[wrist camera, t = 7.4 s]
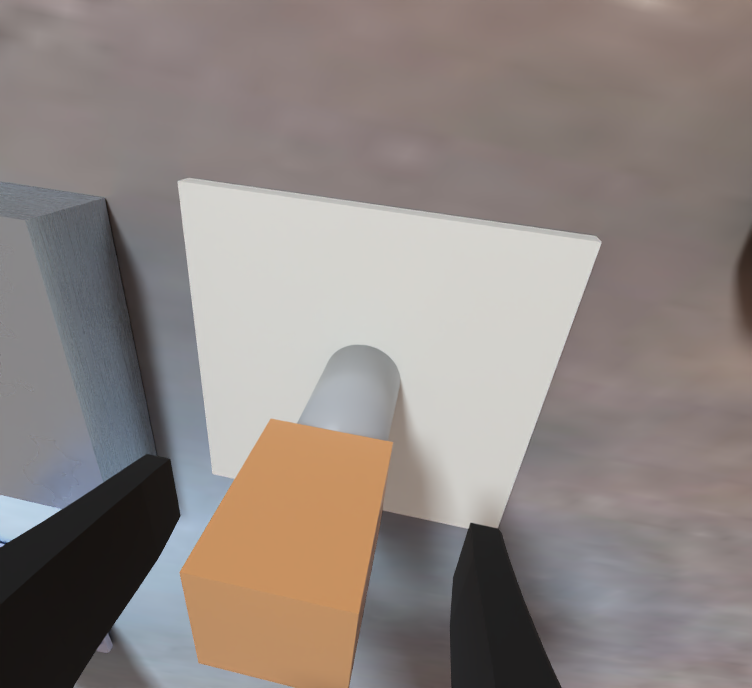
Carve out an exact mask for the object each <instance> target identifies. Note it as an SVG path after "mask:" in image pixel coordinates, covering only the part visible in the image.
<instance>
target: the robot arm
mask: <svg viewBox="0 0 752 688" xmlns="http://www.w3.org/2000/svg"><path fill="white" fill-rule="evenodd" d="M179 518H180V510H179V505H178V500H177V494H176V489H175V483H174V478H173V472H172V467H171V461H170V459H168V458H164V457H159V456H154V455H150V454H146V455H144V456H143V457H141V458H139V459H138V460H136V461H135V462H133V463H132V464H130V465H129V466H127V467H126V468H124V469H123V470H121V471H120V472H118V473H117V474H115V475H114V476H112V477H111V478H109V479H108V480H106V481H105V482H103V483H102V484H100V485H99V486H97V487H96V488H94V489H93V490H91V491H90V492H88V493H87V494H85V495H84V496H82V497H80V498H79V499H77V500H76V501H74V502H73V503H71V504H70V505H68V506H67V507H65V508H63V509H62V510H60V511H59V512H57V513H56V514H54V515H53V516H51V517H49V518H48V519H46V520H45V521H43V522H42V523H40V524H38V525H37V526H35V527H33V528H32V529H30V530H28V531H27V532H25V533H23V534H22V535H20V536H18V537H17V538H15V539H13V540H12V541H10V542H8V543H7V544H2V543H0V688H73V687H74V685H75V683H76V682H77V680H78V678H79V676H80V675H81V673H82V672H83V670H84V669H85V667H86V665H87V664H88V662H89V661H90V659H91V657H92V656H93V654H94V653H95V651H99V652H103V653H109V652H110V650H111V649H112V647H113V644H112V642H111V639H110V637H109V634H108V632H109V631H110V629H111V628H112V626H113V625H114V623H115V622H116V620H117V619H118V617H119V616H120V615H121V613H122V612H123V610H124V609H125V607H126V606H127V604H128V603H129V601H130V600H131V598H132V597H133V595H134V594H135V592H136V591H137V590H138V588H139V587H140V585H141V584H142V582H143V581H144V579H145V578H146V576H147V575H148V573H149V572H150V570H151V569H152V567H153V566H154V564H155V562H156V561H157V559H158V558H159V556H160V554H161V552H162V551H163V549H164V547H165V545H166V543H167V541H168V540H169V538H170V536H171V534H172V532H173V530H174V528H175V526H176V524H177V522H178V520H179ZM450 649H451V685H452V688H561V685H560V683H559V681H558V679H557V677H556V675H555V673H554V670H553V668H552V666H551V664H550V661H549V659H548V657H547V655H546V652H545V650H544V648H543V645H542V643H541V641H540V638H539V636H538V633H537V631H536V628H535V626H534V624H533V621H532V619H531V616H530V614H529V611H528V609H527V606H526V604H525V601H524V599H523V596H522V593H521V590H520V588H519V585H518V582H517V580H516V577H515V574H514V571H513V568H512V565H511V562H510V559H509V556H508V553H507V550H506V547H505V543H504V540H503V536H502V533H501V532H500V530H499V529H498V528H494V527H489V526H484V525H480V524H475V523H470V525H469V529H468V532H467V535H466V538H465V541H464V545H463V548H462V551H461V554H460V557H459V561H458V564H457V567H456V570H455V573H454V577H453V588H452V602H451V618H450Z"/></svg>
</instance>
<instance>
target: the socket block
mask: <svg viewBox="0 0 752 688" xmlns="http://www.w3.org/2000/svg"><path fill="white" fill-rule="evenodd" d="M146 454H150V455H154V456H157V454H156V449H155V444H154V439H153V434H152V429H151V424H150V419H149V414H148V410H147V405H146V400H145V395H144V390H143V385H142V380H141V375H140V370H139V365H138V360H137V355H136V350H135V345H134V340H133V335H132V330H131V326H130V321H129V316H128V311H127V306H126V301H125V296H124V291H123V286H122V281H121V276H120V271H119V266H118V261H117V256H116V251H115V246H114V242H113V237H112V232H111V227H110V222H109V217H108V212H107V207H106V202H105V198H102V197H96V196H89V195H82V194H76V193H69V192H62V191H56V190H49V189H43V188H36V187H29V186H23V185H16V184H9V183H3V182H0V495H4V496H8V497H13V498H17V499H21V500H26V501H30V502H34V503H39V504H43V505H47V506H52V507H56V508H60V509H63V508H65V507H67V506H68V505H70V504H71V503H73V502H74V501H76V500H77V499H79V498H80V497H82V496H84V495H85V494H87V493H88V492H90V491H91V490H93V489H94V488H96V487H97V486H99V485H100V484H102V483H103V482H105V481H106V480H108V479H109V478H111V477H112V476H114V475H115V474H117V473H118V472H120V471H121V470H123V469H124V468H126V467H127V466H129V465H130V464H132V463H133V462H135V461H136V460H138V459H139V458H141V457H143V456H144V455H146Z"/></svg>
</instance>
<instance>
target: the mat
mask: <svg viewBox="0 0 752 688" xmlns="http://www.w3.org/2000/svg"><path fill="white" fill-rule="evenodd" d="M178 189H179V197H180V205H181V214H182V222H183V230H184V239H185V247H186V255H187V264H188V272H189V280H190V289H191V297H192V306H193V314H194V322H195V331H196V339H197V347H198V356H199V364H200V372H201V381H202V389H203V397H204V406H205V414H206V422H207V431H208V439H209V448H210V456H211V464H212V473H213V474H214V475H219V476H224V477H228V478H233V479H235V478H236V476H237V474H238V473H239V471H240V469H241V468H242V466H243V464H244V463H245V461H246V459H247V458H248V456H249V454H250V452H251V451H252V449H253V447H254V446H255V444H256V442H257V441H258V439H259V437H260V436H261V434H262V432H263V431H264V429H265V427H266V425H267V424H268V422H269V420H270V419H276V420H281V421H287V422H292V423H297V422H298V420H299V418H300V416H301V414H302V412H303V410H304V409H305V407H306V405H307V403H308V401H309V399H310V397H311V395H312V393H313V391H314V389H315V387H316V385H317V383H318V381H319V379H320V377H321V375H322V373H323V371H324V369H325V367H326V365H327V363H328V361H329V359H330V358H331V356H332V355H333V354H334V353H335V352H336V351H338V350H339V349H341V348H343V347H346V346H350V345H367V346H371V347H374V348H377V349H379V350H381V351H382V352H384V353H385V354H387V355H388V356H389V357H390V358H391V359H392V360H393V361H394V363H395V364H396V366H397V368H398V370H399V374H400V387H399V392H398V397H397V401H396V406H395V410H394V415H393V420H392V424H391V429H390V434H389V438H388V441H390V442H393V446H392V453H391V459H390V465H389V472H388V478H387V485H386V491H385V497H384V504H383V511H388V512H392V513H397V514H402V515H406V516H411V517H416V518H420V519H425V520H430V521H434V522H439V523H444V524H448V525H453V526H458V527H462V528H467V529H469V525H470V523H475V524H480V525H484V526H489V527H494V528H498V526H499V523H500V521H501V518H502V515H503V512H504V510H505V507H506V504H507V501H508V499H509V496H510V493H511V490H512V488H513V485H514V482H515V479H516V477H517V474H518V471H519V468H520V466H521V463H522V460H523V457H524V455H525V452H526V449H527V446H528V444H529V441H530V438H531V435H532V433H533V430H534V427H535V424H536V422H537V419H538V416H539V413H540V411H541V408H542V405H543V402H544V400H545V397H546V394H547V391H548V389H549V386H550V383H551V380H552V378H553V375H554V372H555V369H556V367H557V364H558V361H559V358H560V356H561V353H562V350H563V347H564V345H565V342H566V339H567V336H568V334H569V331H570V328H571V325H572V323H573V320H574V317H575V314H576V312H577V309H578V306H579V303H580V301H581V298H582V295H583V292H584V290H585V287H586V284H587V281H588V279H589V276H590V273H591V270H592V268H593V265H594V262H595V259H596V257H597V254H598V251H599V248H600V246H601V243H602V242H601V241H600V240H599V239H598V238H597V237H596V236H592V235H585V234H578V233H571V232H564V231H557V230H550V229H543V228H536V227H529V226H522V225H515V224H508V223H501V222H494V221H487V220H480V219H473V218H466V217H459V216H452V215H445V214H438V213H431V212H424V211H417V210H410V209H403V208H396V207H389V206H382V205H375V204H368V203H361V202H354V201H347V200H340V199H333V198H326V197H319V196H312V195H305V194H298V193H291V192H284V191H277V190H270V189H263V188H256V187H249V186H242V185H235V184H228V183H221V182H214V181H208V180H201V179H194V178H186V179H183V180H179V181H178Z"/></svg>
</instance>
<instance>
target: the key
mask: <svg viewBox="0 0 752 688" xmlns="http://www.w3.org/2000/svg"><path fill="white" fill-rule="evenodd" d="M399 387H400V374H399V370H398V368H397V366H396V364H395V363H394V361H393V360H392V359H391V358H390V357H389V356H388V355H387V354H385V353H384V352H382V351H381V350H379V349H377V348H374V347H371V346H367V345H350V346H346V347H343V348H341V349H339V350H338V351H336V352H335V353H334V354H333V355H332V356H331V358H330V359H329V361H328V363H327V365H326V367H325V369H324V371H323V373H322V375H321V377H320V379H319V381H318V383H317V385H316V387H315V389H314V391H313V393H312V395H311V397H310V399H309V401H308V403H307V405H306V407H305V409H304V410H303V412H302V414H301V416H300V418H299V420H298V422H297V423H292V422H287V421H281V420H276V419H270V420H269V422H268V424H267V425H266V427H265V429H264V431H263V432H262V434H261V436H260V437H259V439H258V441H257V442H256V444H255V446H254V447H253V449H252V451H251V452H250V454H249V456H248V458H247V459H246V461H245V463H244V464H243V466H242V468H241V469H240V471H239V473H238V474H237V476H236V478H235V480H234V481H233V483H232V485H231V486H230V488H229V490H228V491H227V493H226V495H225V496H224V498H223V500H222V501H221V503H220V505H219V507H218V508H217V510H216V512H215V513H214V515H213V517H212V518H211V520H210V522H209V523H208V525H207V527H206V528H205V530H204V532H203V534H202V535H201V537H200V539H199V540H198V542H197V544H196V545H195V547H194V549H193V550H192V552H191V554H190V556H189V557H188V559H187V561H186V562H185V564H184V566H183V567H182V569H181V571H180V577H181V581H182V586H183V591H184V596H185V600H186V605H187V610H188V615H189V619H190V624H191V629H192V634H193V638H194V643H195V648H196V653H197V658H198V662H199V663H201V664H204V665H208V666H212V667H216V668H220V669H224V670H228V671H232V672H236V673H240V674H244V675H248V676H252V677H256V678H260V679H264V680H268V681H272V682H275V683H279V684H283V685H287V686H291V687H295V688H349V685H350V680H351V674H352V669H353V664H354V659H355V653H356V648H357V643H358V638H359V633H360V627H361V622H362V617H363V612H364V607H365V601H366V596H367V591H368V586H369V580H370V575H371V570H372V565H373V560H374V554H375V549H376V544H377V539H378V534H379V528H380V523H381V516H382V510H383V504H384V497H385V491H386V485H387V478H388V472H389V465H390V459H391V453H392V446H393V442H390V441H388V438H389V434H390V429H391V424H392V420H393V415H394V410H395V406H396V401H397V397H398V392H399Z"/></svg>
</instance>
